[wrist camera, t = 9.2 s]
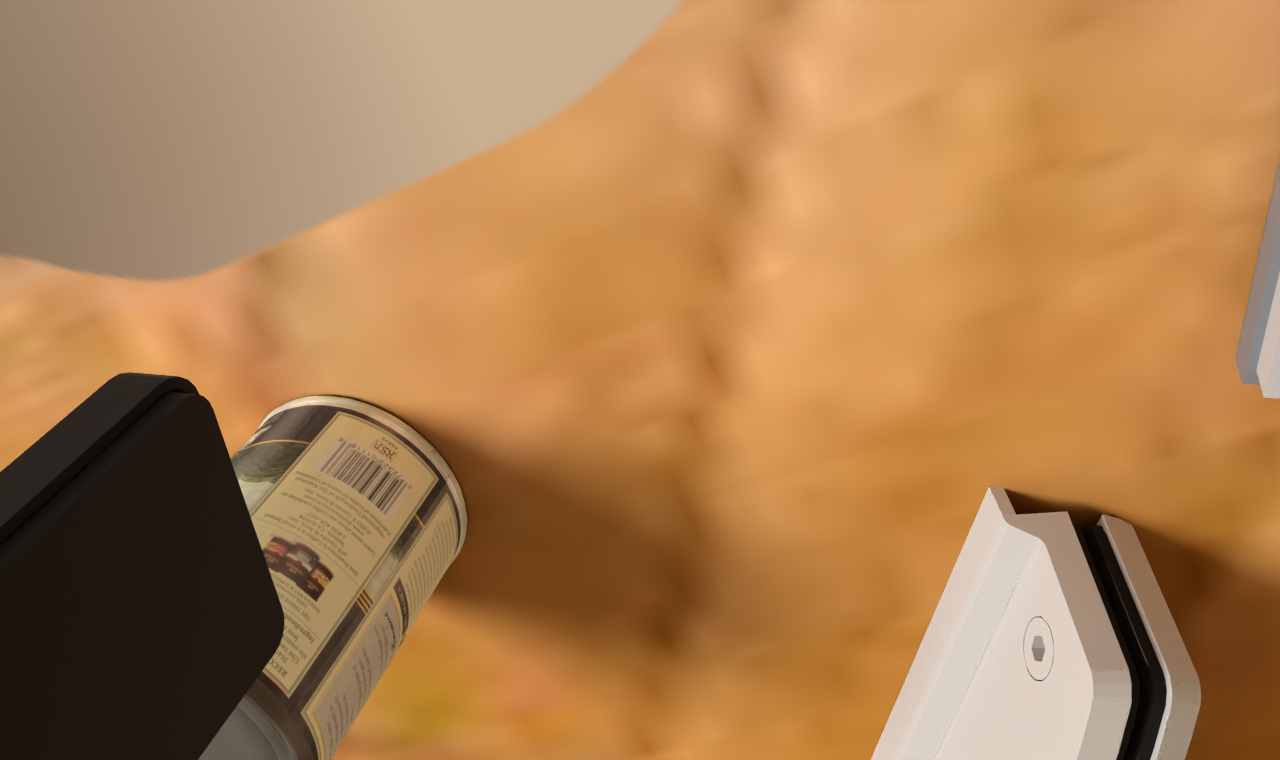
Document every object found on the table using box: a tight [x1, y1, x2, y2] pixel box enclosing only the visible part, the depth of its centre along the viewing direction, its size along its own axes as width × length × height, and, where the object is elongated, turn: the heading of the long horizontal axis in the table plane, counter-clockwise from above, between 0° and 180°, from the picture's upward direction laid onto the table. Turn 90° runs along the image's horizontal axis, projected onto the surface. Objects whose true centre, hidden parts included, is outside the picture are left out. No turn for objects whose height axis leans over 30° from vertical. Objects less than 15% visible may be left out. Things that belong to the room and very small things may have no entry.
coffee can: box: [198, 396, 468, 760], centre depth 46 cm, size 10×10×14 cm
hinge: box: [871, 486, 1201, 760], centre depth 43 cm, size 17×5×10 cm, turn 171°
